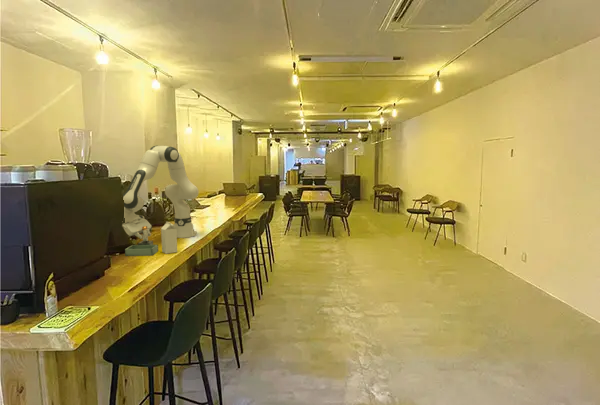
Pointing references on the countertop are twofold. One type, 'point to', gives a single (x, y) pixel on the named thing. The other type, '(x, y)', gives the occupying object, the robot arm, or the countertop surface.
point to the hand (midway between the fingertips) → (146, 236)
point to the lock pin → (145, 234)
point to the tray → (141, 250)
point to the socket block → (146, 243)
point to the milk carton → (169, 238)
